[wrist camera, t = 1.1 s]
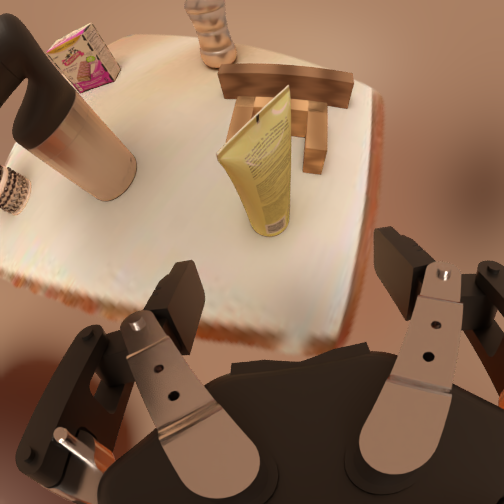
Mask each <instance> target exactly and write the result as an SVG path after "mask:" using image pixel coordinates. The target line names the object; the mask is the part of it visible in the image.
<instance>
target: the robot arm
mask: <svg viewBox="0 0 504 504" xmlns="http://www.w3.org/2000/svg"><path fill="white" fill-rule="evenodd" d="M25 78H28V86H27V90H26V93H25V96H24V99H23V101H22V104H21V106H20V109H19V110H18V113H17V115H16V118H15V120H14V124H13V129H12V134H13V138H14V139H15V141H16V142H17V143H18V144H20V145H21V146H22V147H24V148H25V149H27V150H28V151H29V152H31V153H32V154H34V155H35V156H36V157H38V158H39V159H41V160H42V161H43V162H45V163H46V164H48V165H49V166H50V167H52V168H53V169H55V170H56V171H58V172H59V173H60V174H62V175H63V176H65V177H66V178H68V179H69V180H71V181H72V182H73V183H75V184H76V185H78V186H79V187H81V188H82V189H84V190H85V191H87V192H88V193H89V194H91V195H92V196H94V197H95V198H97V199H99V200H101V201H108V200H112V199H114V198H116V197H118V196H120V195H121V194H122V193H123V192H124V191H125V190H126V189H127V188H128V187H129V185H130V184H131V182H132V180H133V178H134V176H135V172H136V159H135V157H134V156H133V155H132V153H131V152H130V151H129V150H128V149H127V148H126V147H125V146H124V145H123V143H122V142H121V141H120V140H119V139H118V138H117V137H116V136H115V134H114V133H113V132H112V131H111V130H110V129H109V128H108V127H107V125H106V124H105V123H104V122H103V121H102V120H101V119H100V118H99V116H98V115H97V114H96V113H95V112H94V111H93V110H92V108H91V107H90V106H89V105H88V104H87V103H86V102H85V101H84V99H83V98H82V97H81V96H80V95H79V94H78V93H77V91H76V90H75V89H74V88H73V87H72V86H71V85H70V84H69V83H68V81H67V80H66V79H65V78H64V77H63V76H62V75H61V74H60V73H59V71H58V70H57V69H56V68H55V67H54V65H53V64H52V63H51V62H50V60H49V59H48V58H47V56H46V55H45V54H44V52H43V51H42V49H41V48H40V46H39V45H38V43H37V42H36V40H35V39H34V37H33V36H32V34H31V33H30V32H29V30H28V29H27V28H26V26H25V25H24V24H23V23H22V22H21V21H20V20H19V19H18V18H17V17H16V16H14V15H12V14H7V13H6V14H2V15H0V108H1V106H2V105H3V103H4V102H5V101H6V100H7V99H8V97H9V96H10V95H11V94H12V92H13V91H14V90H15V89H16V88H17V87H18V86H19V84H20V83H21V82H22V81H23V80H24V79H25ZM374 268H375V271H376V274H377V276H378V277H379V279H380V280H381V282H382V283H383V285H384V286H385V288H386V289H387V291H388V293H389V294H390V296H391V297H392V299H393V301H394V302H395V304H396V305H397V307H398V309H399V310H400V312H401V314H402V315H403V317H404V318H405V320H406V321H408V320H410V323H409V327H408V330H407V332H406V336H405V338H404V341H403V344H402V346H401V349H400V352H399V354H398V356H397V355H395V354H391V353H386V352H377V351H370V350H369V348H368V345H367V343H366V342H365V343H360V344H355V345H351V346H346V347H341V348H336V349H333V350H330V351H328V352H325V353H323V354H320V355H318V356H315V357H312V358H310V359H307V360H304V361H301V362H289V361H273V360H259V361H250V362H240V363H232V365H231V373H229V374H226V375H223V376H221V377H219V378H216V379H214V380H212V381H211V382H209V383H207V384H206V385H203V384H202V383H201V382H200V380H199V379H198V378H197V376H196V375H195V373H194V372H193V371H192V369H191V368H190V367H189V365H188V364H187V362H186V361H185V359H184V358H183V357H182V355H190V352H191V349H192V345H193V342H194V338H195V335H196V331H197V328H198V324H199V321H200V317H201V314H202V310H203V307H204V304H205V293H204V289H203V286H202V283H201V280H200V278H199V275H198V272H197V269H196V266H195V263H194V262H193V261H192V260H188V261H182V262H177V263H175V265H174V266H173V268H172V270H171V272H170V273H169V275H166V276H165V277H164V278H163V279H162V280H160V281H159V283H158V285H157V286H156V288H155V289H156V290H154V292H153V293H152V295H151V297H150V299H149V300H148V302H147V304H146V306H145V307H144V309H143V310H142V311H138V312H135V313H133V314H131V315H129V316H128V317H127V318H126V319H125V320H124V321H123V322H122V324H121V326H120V330H118V331H115V332H112V333H108V334H106V333H105V332H104V330H103V328H102V327H101V326H100V325H91V326H88V327H86V328H85V329H83V330H82V331H81V332H79V334H78V335H77V336H76V337H75V339H74V341H73V342H72V344H71V345H70V347H69V349H68V350H67V352H66V354H65V356H64V357H63V359H62V360H61V362H60V364H59V366H58V367H57V369H56V371H55V372H54V374H53V376H52V378H51V380H50V382H49V383H48V385H47V387H46V389H45V391H44V393H43V395H42V397H41V399H40V400H39V402H38V404H37V406H36V408H35V410H34V413H33V415H32V417H31V419H30V421H29V423H28V426H27V428H26V430H25V432H24V434H23V437H22V439H21V441H20V444H19V446H18V449H17V452H16V464H17V467H18V469H19V470H20V471H21V472H22V473H24V474H25V475H27V476H28V477H30V478H31V479H33V480H34V481H36V482H37V483H39V484H40V485H41V486H42V487H44V488H46V489H47V490H49V491H51V492H53V493H55V494H56V495H58V496H60V497H62V498H64V499H66V500H69V501H72V502H74V503H76V504H504V332H503V331H502V330H501V328H500V327H499V325H498V324H497V323H496V321H495V320H494V318H495V315H496V312H497V310H499V312H500V313H501V314H502V316H503V317H504V266H503V265H501V264H499V263H497V262H494V261H483V262H480V263H479V265H478V268H477V273H476V274H461V271H460V269H459V268H458V267H457V266H455V265H453V264H451V263H448V262H443V261H438V262H436V261H435V260H434V259H433V258H432V257H431V256H430V255H429V254H428V253H427V252H425V251H424V250H423V249H422V248H421V247H420V246H418V244H417V243H416V242H415V241H414V240H413V239H411V238H409V237H406V236H404V235H400V234H399V233H398V232H397V231H396V230H395V229H393V228H392V227H391V226H389V227H383V228H377V229H375V230H374ZM461 330H463V331H464V333H465V334H466V336H467V338H468V339H469V341H470V343H471V344H472V346H473V347H474V349H475V351H476V353H477V355H478V356H479V358H480V360H481V361H482V364H483V365H484V367H485V369H486V371H487V373H488V375H489V376H490V378H491V381H492V383H493V385H494V387H495V389H496V391H497V393H498V395H499V400H498V406H496V405H494V404H492V403H490V402H488V401H486V400H484V399H482V398H480V397H478V396H476V395H474V394H472V393H470V392H468V391H466V390H464V389H462V388H460V387H458V386H457V385H455V384H453V378H454V373H455V368H456V363H457V357H458V350H459V343H460V335H461ZM94 372H96V374H97V375H98V376H99V378H100V379H101V382H100V384H99V386H98V388H97V391H96V393H95V396H94V397H93V396H92V394H91V392H90V388H89V385H90V380H91V379H92V377H93V374H94ZM134 382H136V384H137V387H138V389H139V391H140V394H141V396H142V398H143V401H144V403H145V405H146V407H147V410H148V412H149V414H150V416H151V418H152V420H153V422H154V424H155V426H156V428H155V429H154V430H153V431H152V432H151V433H150V434H149V435H147V436H146V437H145V438H144V439H143V440H141V441H140V442H139V443H138V444H136V445H135V446H134V447H133V448H132V449H130V450H129V451H128V452H127V453H125V454H124V455H123V456H121V457H120V458H119V459H118V460H116V461H115V459H114V455H113V450H114V446H115V442H116V439H117V436H118V432H119V429H120V426H121V422H122V419H123V416H124V412H125V409H126V406H127V403H128V400H129V397H130V394H131V390H132V387H133V385H134Z"/></svg>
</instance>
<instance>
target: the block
mask: <svg viewBox="0 0 504 504" xmlns="http://www.w3.org/2000/svg"><path fill="white" fill-rule="evenodd" d="M272 99H273V97H251V96H237V100H236V103H235V107H234V111H233V115H232V119H231V123H230V127H229V131H228V135H227V139H226V143H227V142H228V141H229V140H230V139H231V138H232V137H233V136H234V135H235V134H236V133H237V132H238V131H239V130H240V129H241V128H242V127H243V126H244V125H245V124H246V123H247V122H248V121H249V120H250V119H252V118H253V117H254V116H255V115H256V114H257V113H258V112H259V111H260V110H261V109H262V108H263V107H264V106H265V105H266V104H268V103H269V102H270V101H271V100H272ZM291 136H298V137H305V149H304V162H303V172H306V173H314V174H321V172H322V169H323V165H324V161H325V157H326V153H327V103H324V102H316V101H308V100H298V99H291Z"/></svg>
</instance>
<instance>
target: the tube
mask: <svg viewBox="0 0 504 504" xmlns="http://www.w3.org/2000/svg"><path fill="white" fill-rule="evenodd" d="M216 155H217V159H218V161H219V162H220V164H221V165H222V166H223V167H224V169H225V170H226V172H227V174H228V175H229V177H230V179H231V181H232V182H233V184H234V186H235V188H236V190H237V192H238V194H239V196H240V199H241V201H242V203H243V206H244V208H245V210H246V213H247V215H248V218H249V220H250V223H251V225H252V227H253V229H254V230H255V231H256V232H257V233H259V234H261V235H263V236H275V235H278V234H280V233H281V232H282V231H284V229H285V228H286V227H287V225H288V222H289V210H290V179H291V98H290V90H289V85H287V86H286V87H285V88H284V89H283V90H282V91H281V92H280V93H279V94H277V95H276V96H275V97H274V98H273V99H272V100H271V101H270V102H269V103H268V104H266V105H265V106H264V107H263V108H262V109H261V110H260V111H259V112H258V113H257V114H256V115H255V116H254V117H253V118H252V119H250V120H249V121H248V122H247V123H246V124H245V125H244V126H243V127H242V128H241V129H240V130H239V131H238V132H237V133H236V134H235V135H234V136H233V137H232V138H231V139H230V140H229V141H228V142H227V143H226V144H225V145H224V146H223V147H222V148H221V149H220V150H219V151H218V152H217V154H216Z"/></svg>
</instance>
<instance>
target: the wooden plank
mask: <svg viewBox="0 0 504 504" xmlns="http://www.w3.org/2000/svg"><path fill="white" fill-rule="evenodd" d="M218 77H219V81H220V84H221V88H222V91H223V95H224V98H225V99H237V96H251V97H273V98H274V97H275V96H276V95H277V94H279V93H280V92H281V91H282V90H283V89H284V88H285V87H286V86H287V85H289V90H290V98H291V99H298V100H308V101H316V102H324V103H327V106H333V107H340V108H346V109H347V108H348V104H349V100H350V97H351V93H352V89H353V85H354V80H353V74H352V73H348V72H342V71H336V70H329V69H322V68H314V67H305V66H294V65H280V64H221V66H220V68H219V71H218Z"/></svg>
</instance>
